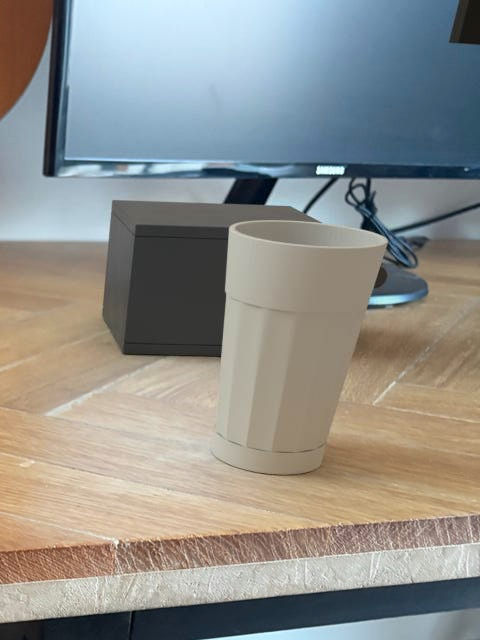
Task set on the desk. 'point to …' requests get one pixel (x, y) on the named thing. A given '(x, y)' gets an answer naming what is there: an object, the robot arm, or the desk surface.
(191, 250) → the cabinet
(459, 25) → the robot arm
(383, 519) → the desk surface
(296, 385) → the cup
